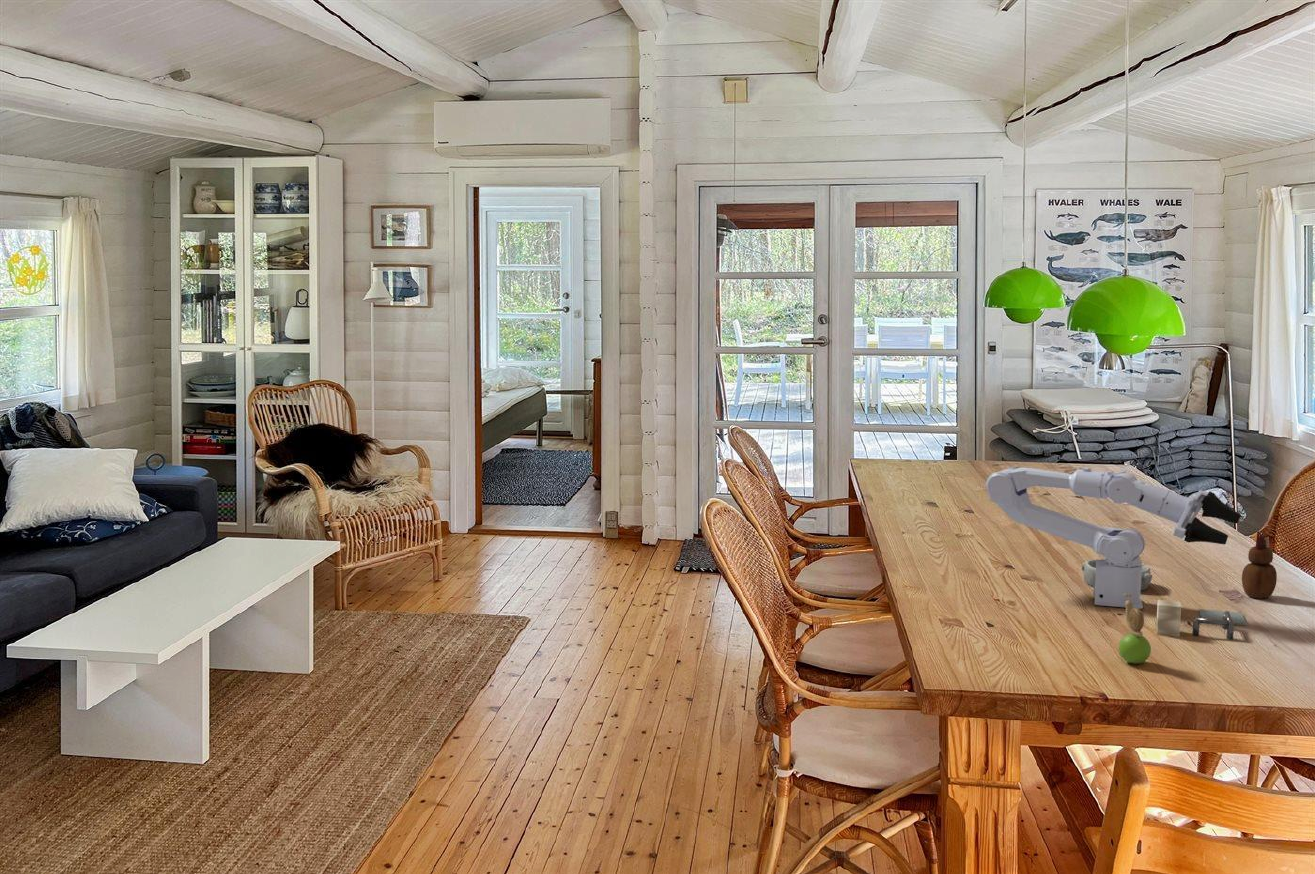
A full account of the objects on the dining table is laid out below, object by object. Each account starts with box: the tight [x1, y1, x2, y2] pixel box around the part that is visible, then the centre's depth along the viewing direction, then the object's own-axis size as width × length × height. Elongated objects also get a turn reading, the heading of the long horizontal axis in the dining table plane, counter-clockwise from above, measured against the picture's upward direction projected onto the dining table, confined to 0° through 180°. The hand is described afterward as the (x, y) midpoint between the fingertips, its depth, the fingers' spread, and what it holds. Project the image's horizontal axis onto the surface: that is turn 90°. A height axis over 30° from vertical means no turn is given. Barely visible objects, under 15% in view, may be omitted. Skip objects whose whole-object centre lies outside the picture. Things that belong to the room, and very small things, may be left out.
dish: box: [1081, 558, 1153, 591], centre depth 255 cm, size 14×14×5 cm
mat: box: [1198, 608, 1247, 627], centre depth 228 cm, size 8×8×1 cm
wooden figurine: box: [1241, 530, 1278, 600], centre depth 242 cm, size 7×6×15 cm
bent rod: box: [1191, 610, 1235, 640], centre depth 219 cm, size 7×8×4 cm
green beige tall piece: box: [1118, 594, 1152, 665], centre depth 202 cm, size 5×6×12 cm
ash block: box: [1155, 599, 1182, 637], centre depth 219 cm, size 4×4×6 cm
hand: (1233, 529), depth 225 cm, fingers open, 7 cm apart
